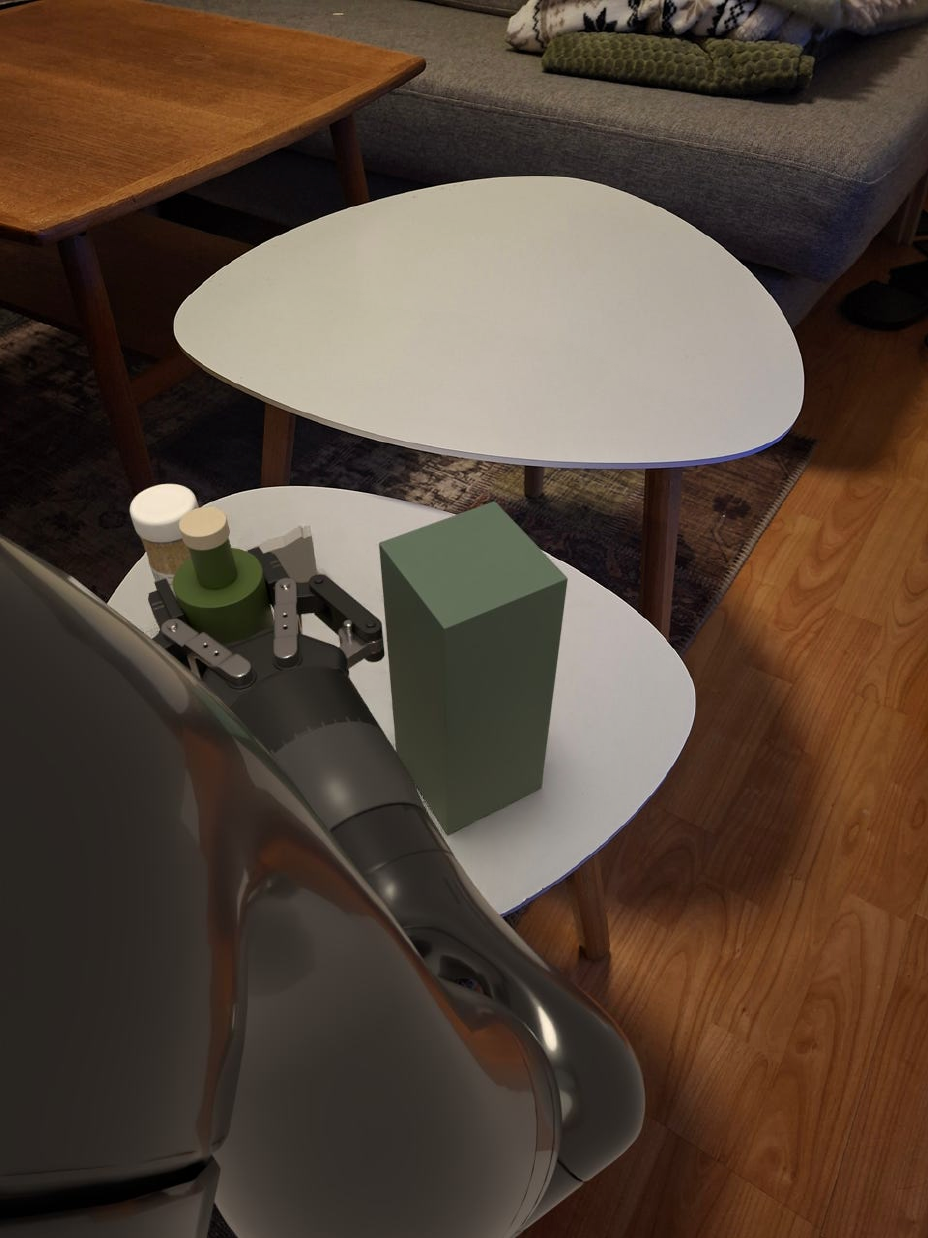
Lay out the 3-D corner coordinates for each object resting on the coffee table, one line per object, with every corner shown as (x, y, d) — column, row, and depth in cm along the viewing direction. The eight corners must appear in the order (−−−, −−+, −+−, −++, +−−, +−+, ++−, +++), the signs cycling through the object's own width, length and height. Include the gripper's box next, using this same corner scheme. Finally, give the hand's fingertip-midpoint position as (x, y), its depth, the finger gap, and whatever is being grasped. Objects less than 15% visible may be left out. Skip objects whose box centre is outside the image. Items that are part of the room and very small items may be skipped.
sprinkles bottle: (229, 609, 73) (195, 477, 63) (231, 649, 70) (196, 517, 60) (172, 617, 72) (129, 485, 63) (172, 658, 69) (126, 526, 59)
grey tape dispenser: (318, 586, 75) (198, 604, 73) (316, 575, 76) (197, 593, 74) (311, 534, 71) (183, 552, 69) (309, 524, 72) (183, 541, 70)
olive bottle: (221, 722, 54) (170, 564, 45) (195, 668, 57) (142, 510, 48) (297, 691, 56) (263, 532, 46) (268, 640, 59) (232, 482, 49)
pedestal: (447, 835, 59) (444, 628, 44) (396, 754, 63) (378, 542, 49) (541, 788, 61) (568, 577, 47) (486, 713, 66) (494, 500, 51)
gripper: (451, 675, 42) (312, 487, 53) (156, 803, 37) (66, 568, 48) (453, 766, 48) (326, 579, 58) (194, 888, 43) (106, 660, 53)
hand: (209, 575), depth 53 cm, fingers closed on olive bottle, 5 cm apart
